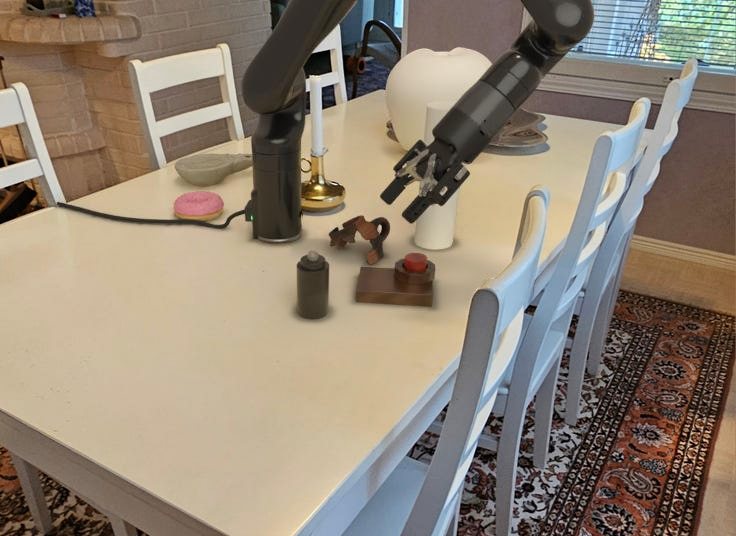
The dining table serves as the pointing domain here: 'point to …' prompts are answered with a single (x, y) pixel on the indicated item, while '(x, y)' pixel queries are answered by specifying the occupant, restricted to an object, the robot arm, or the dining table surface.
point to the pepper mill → (312, 286)
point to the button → (415, 262)
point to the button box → (396, 285)
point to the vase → (428, 86)
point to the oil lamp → (211, 167)
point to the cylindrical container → (440, 220)
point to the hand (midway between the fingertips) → (394, 210)
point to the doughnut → (198, 206)
